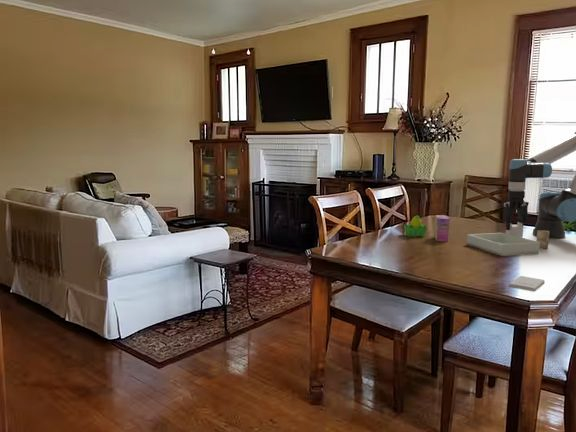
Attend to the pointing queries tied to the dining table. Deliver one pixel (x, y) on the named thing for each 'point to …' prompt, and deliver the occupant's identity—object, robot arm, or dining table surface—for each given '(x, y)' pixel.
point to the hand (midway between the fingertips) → (514, 235)
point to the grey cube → (517, 230)
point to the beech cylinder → (543, 238)
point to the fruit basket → (415, 228)
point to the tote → (503, 244)
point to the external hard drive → (527, 283)
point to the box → (441, 228)
